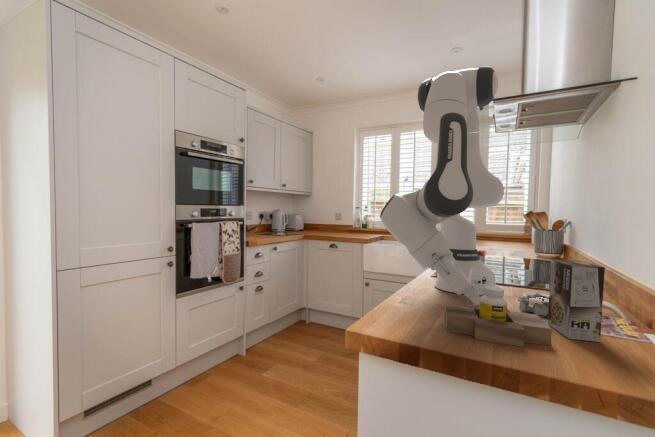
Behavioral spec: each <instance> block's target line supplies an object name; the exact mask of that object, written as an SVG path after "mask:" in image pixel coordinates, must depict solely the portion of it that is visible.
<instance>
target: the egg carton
mask: <svg viewBox="0 0 655 437" xmlns="http://www.w3.org/2000/svg"><path fill="white" fill-rule="evenodd" d="M536 297H543V298H547V299H549V296H546V295H542V294H540V293H539V292H537V293H534V294H531V295H530V294H528V295H527V296H523V297H522V296H518V298H517V302H519V307H518V308H519V309H521V310H522V312H532V314H536V315H538V316H545V317H546V316H548V315H549V302H542V304H538V303H535V304H534V305H532V304H529V298H536ZM539 299H541V298H539ZM542 301H544V299H542Z"/></svg>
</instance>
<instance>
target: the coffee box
mask: <svg viewBox="0 0 655 437" xmlns="http://www.w3.org/2000/svg"><path fill="white" fill-rule="evenodd" d="M605 270H606V267H605V266H600V265H596V264H592V263H589V262H585V261H581V260H574V259H573V260H571V259H560V260H559V259H550V276H549V295H548V297H549V313H548V319H547V320H548V322H547V325H548V326H549V327H550V328H553V329H554V330H556V331H557V332H559V333H560V334H561V335H563V336H564V337H566V338H567V339H569V340H576V341H577V340H578V341H586V342H587V341H588V342H597V343H600V342H601V332H602V321H603V302H604V290H605V289H604V287H605V285H604V284H605Z"/></svg>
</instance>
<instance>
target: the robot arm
mask: <svg viewBox="0 0 655 437" xmlns="http://www.w3.org/2000/svg"><path fill="white" fill-rule="evenodd" d="M497 76H498V75H497V74H496V71H495V69H494V68H492V67H491V66H478V67H476V68H465V69H460V70H455V71H445V72H443V73H440V74H438V75H437V76H436V77H433V76H432V77H429V78H427V79H425V80H423V81H422V83H420V85H419V86H418V91H417V103H418V105H419V109H420V111H422V112H423V117H422V119H423V120H422V129H423V134H424V136H425V137H426V138H427V140H429V141H431V142H433V143H435V144H437V149H436V164H435V168H434V171H433V172H432V174H431V176H430V177H429V179H427V180H426V181H425V183H424V184H423V186H422V188H419V189H417V190H413V191H410V192H407V193H406V192H404V193H395V194H393V195H392V197H390V199H388V201H387V202H386V204H385V205H384V206H383V208H382V209H381V211H380V213H379V214H380V215H379V218H380V221H381V223H382V224H383V226H385V228H386V229H387V231H388V232H389V233H390V234H391V235H392V237H393V238H394V239H395V240H396V241H397V242H398V243H400V244H401V245H403V247H405V249H406V251H407V252H408V254H409V255H410V256H411V257H412V258H413V259H414V260H415V262H416V263H417V264H419V265H420V267H421V268H422V269H424V270H425V269H428V268H429V269H430V270H431V271H435V272H436V273H437V277H436V281H435V283H434V287H435V288H437V289H439V290H441V291H445V292H448V293H455V294H456V295H458V296H461V295H464V296H465V297H466V298H467V299H469V300H470V301H471V303H472V304H474V305H480V303H481V302H482V299H481V296H483V295H485V293H484V287H485V286H495V287H500V288H503V287H502V286H500V285H498V284H496V275H495V273H494V271H493V270H492V269H490V267H489V266H487V265H486V264H485V263H483V261H482V260H481V259H480V258H481V257H486V255H487V251H486V250H481V249H479V250H478V249H477V229H478V228H477V226H476V224H475V223H474V222H472V221H471V220H470V219H467V218H466V217H463V216H462V215H460V214H461V213H463V212H465V211H466V210H467V209H484V208H492V207H496V206H498V205H499V203H500V202H501V201H502V200H503V198H504V193H505V189H504V188H505V187H504V185H503V182H502V180H500V179H499V177H497V176H495V175H494V174H493V173H491V171H490V170H488V169H487V168H486V166H485V164H484V162H483V160H482V156H481V152H480V150H481V149H480V121H479V120H480V118H479V113H478V112H479V111H480V112H481V111H482V110H484V107H486V106H488V105H489V104H490V103H491V102H492V101H493V100H494V99H495V96H496V94H497V91H498V88H499V81H498V80H499V79H498V77H497ZM478 108H479V111H478ZM438 224H440V228H441V229H440V230H441V232H440V230H439V229H437V225H438ZM480 256H481V257H480Z"/></svg>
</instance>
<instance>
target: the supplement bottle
mask: <svg viewBox="0 0 655 437" xmlns="http://www.w3.org/2000/svg"><path fill="white" fill-rule="evenodd" d="M500 287H501V286H500ZM500 287H495V286H485V287H484V293H485V295H481V296H480V298H481V299H482V302H481V303H479V305H480V312H479V319H487V320H496V321H504V322H506V311H507V309H508V302H507V300H506V298H504V296H505V289H504V288H503V287H502V288H500Z"/></svg>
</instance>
